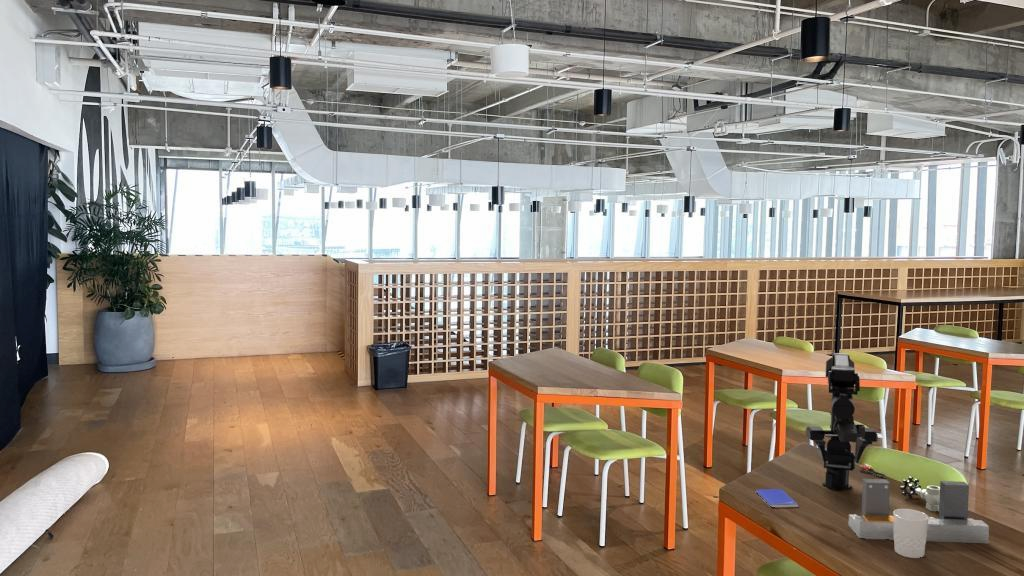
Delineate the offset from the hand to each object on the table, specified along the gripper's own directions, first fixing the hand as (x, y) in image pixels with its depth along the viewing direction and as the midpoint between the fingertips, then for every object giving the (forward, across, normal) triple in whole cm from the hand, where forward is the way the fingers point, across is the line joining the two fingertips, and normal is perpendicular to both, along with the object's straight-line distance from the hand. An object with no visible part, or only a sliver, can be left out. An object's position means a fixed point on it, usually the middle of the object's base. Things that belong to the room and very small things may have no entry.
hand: (840, 462), depth 225 cm
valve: (+13, +25, +3) cm, 28 cm away
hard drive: (+14, -17, +3) cm, 22 cm away
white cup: (+13, +8, -31) cm, 35 cm away
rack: (+13, +14, -19) cm, 27 cm away
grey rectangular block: (+12, +4, -17) cm, 22 cm away
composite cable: (+14, +19, +30) cm, 38 cm away
